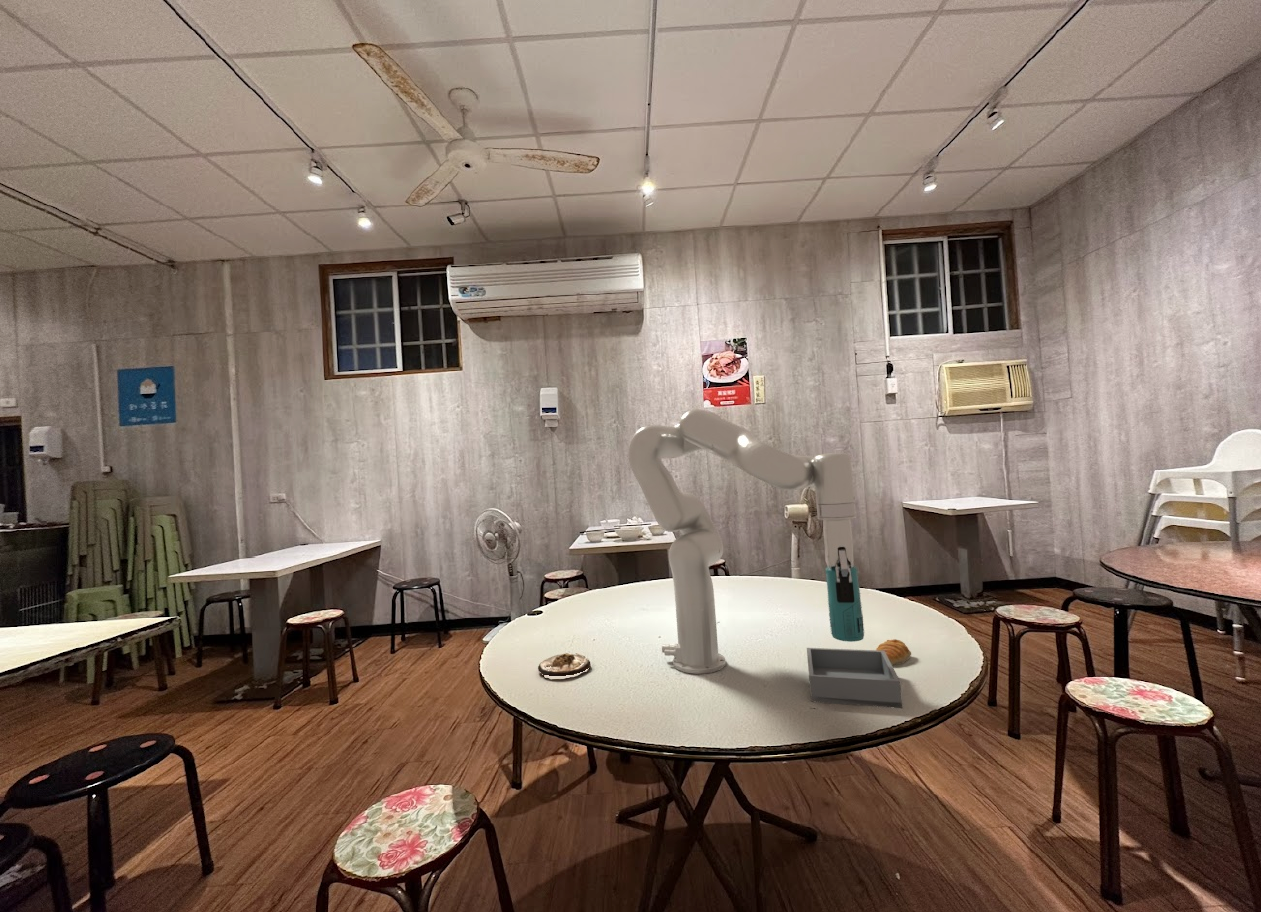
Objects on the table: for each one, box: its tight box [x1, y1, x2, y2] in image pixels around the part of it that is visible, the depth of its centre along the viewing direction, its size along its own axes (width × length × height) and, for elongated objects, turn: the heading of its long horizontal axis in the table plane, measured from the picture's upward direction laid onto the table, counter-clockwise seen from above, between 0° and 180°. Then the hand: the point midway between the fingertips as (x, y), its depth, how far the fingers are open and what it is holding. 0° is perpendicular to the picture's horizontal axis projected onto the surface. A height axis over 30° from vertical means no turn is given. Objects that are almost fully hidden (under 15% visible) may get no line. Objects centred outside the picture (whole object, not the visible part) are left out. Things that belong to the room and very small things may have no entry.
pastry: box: [875, 638, 912, 666], centre depth 115 cm, size 9×7×4 cm
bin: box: [806, 647, 903, 709], centre depth 102 cm, size 16×16×5 cm
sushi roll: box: [537, 651, 591, 676], centre depth 122 cm, size 15×15×4 cm
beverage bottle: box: [825, 554, 866, 643], centre depth 103 cm, size 6×7×20 cm
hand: (843, 596), depth 103 cm, fingers closed on beverage bottle, 6 cm apart
